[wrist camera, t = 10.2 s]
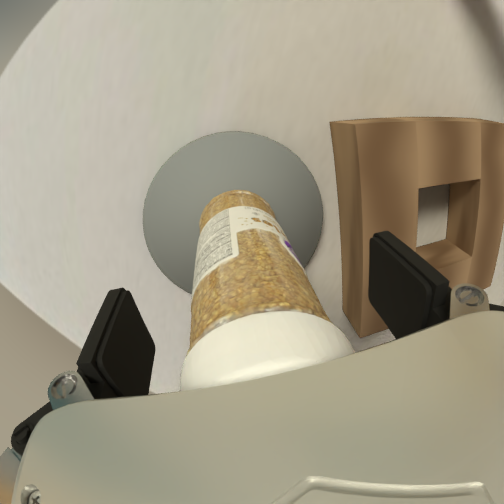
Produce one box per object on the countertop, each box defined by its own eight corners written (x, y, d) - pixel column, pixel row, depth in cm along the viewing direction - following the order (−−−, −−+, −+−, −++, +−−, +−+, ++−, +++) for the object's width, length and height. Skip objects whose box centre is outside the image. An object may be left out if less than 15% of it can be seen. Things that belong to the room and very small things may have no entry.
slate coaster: (307, 118, 16) (311, 118, 16) (324, 276, 21) (327, 282, 20) (124, 157, 16) (121, 158, 15) (174, 309, 21) (173, 316, 20)
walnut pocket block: (478, 118, 17) (508, 124, 14) (468, 268, 23) (490, 285, 20) (329, 121, 17) (354, 124, 13) (342, 310, 23) (360, 338, 20)
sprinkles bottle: (289, 223, 18) (405, 409, 6) (236, 272, 19) (272, 482, 7) (236, 170, 16) (299, 331, 4) (181, 226, 17) (138, 440, 5)
